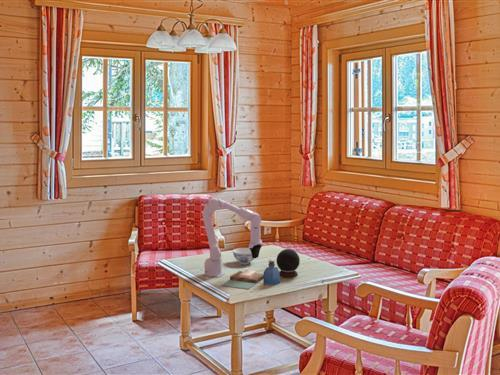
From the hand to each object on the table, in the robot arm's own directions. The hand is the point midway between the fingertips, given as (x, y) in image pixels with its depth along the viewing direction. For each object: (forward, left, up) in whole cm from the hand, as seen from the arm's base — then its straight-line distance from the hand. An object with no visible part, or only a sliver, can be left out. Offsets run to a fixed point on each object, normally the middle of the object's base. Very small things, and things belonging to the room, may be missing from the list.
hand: (255, 257), depth 317 cm
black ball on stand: (+18, +5, -10) cm, 21 cm away
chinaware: (-15, +19, -10) cm, 26 cm away
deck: (0, -11, -9) cm, 14 cm away
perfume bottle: (+15, -13, -10) cm, 22 cm away
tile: (0, -11, -7) cm, 13 cm away
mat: (0, -23, -9) cm, 25 cm away
